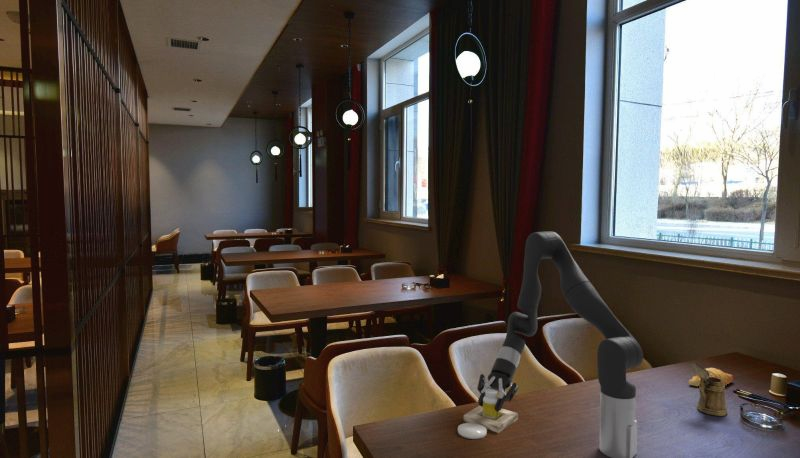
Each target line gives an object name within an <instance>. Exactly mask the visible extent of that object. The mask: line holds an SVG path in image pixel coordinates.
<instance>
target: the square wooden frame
mask: <svg viewBox="0 0 800 458" xmlns="http://www.w3.org/2000/svg"><path fill="white" fill-rule="evenodd" d="M518 420H519V413H518V412H514V411H511V410H508V409H504V408H503V407H502V408H501V410H499V418H498V419H497V420H495V421H494V420H491V419H488V418H485V417H483V407H481V406H480V405H478V406H476V407H475V408H473V409H471V410H469V411H468V412H465V414H463V422H465V423H477V424H480V425H483V426H484V427H485V428H486V429H487V430H490V431H492V432H495V433H497V434H499V433H501V432H502V431H504V430H505V429H507V427H509V426H511V425H512V424H513V423H515V422H516V421H518Z"/></svg>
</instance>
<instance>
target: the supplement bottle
mask: <svg viewBox="0 0 800 458" xmlns="http://www.w3.org/2000/svg"><path fill="white" fill-rule="evenodd" d="M485 395H486V396H484V398H483V417H485V418H488V419H491V420H494V421H495V420H497V419H498V418H499V412H497V411H496V410H495V405H496V403H497V400H498V398H499V397H498V391H497V390H494V389H487V390H485Z"/></svg>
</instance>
